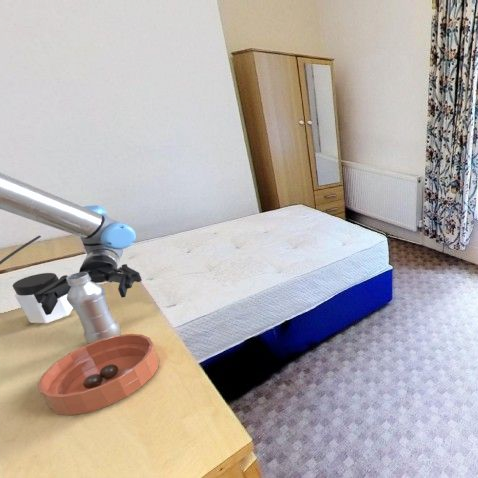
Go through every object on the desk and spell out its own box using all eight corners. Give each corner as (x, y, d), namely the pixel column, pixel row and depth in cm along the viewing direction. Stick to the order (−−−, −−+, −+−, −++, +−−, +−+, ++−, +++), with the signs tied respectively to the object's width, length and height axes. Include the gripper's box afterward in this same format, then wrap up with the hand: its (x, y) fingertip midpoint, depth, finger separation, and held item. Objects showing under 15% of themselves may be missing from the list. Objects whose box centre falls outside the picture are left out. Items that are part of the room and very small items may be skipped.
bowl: (47, 384, 72) (34, 364, 69) (148, 342, 85) (141, 324, 82) (56, 435, 61) (42, 413, 59) (170, 378, 74) (162, 358, 72)
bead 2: (112, 359, 73) (117, 366, 75) (95, 368, 72) (101, 374, 73) (117, 367, 72) (122, 374, 74) (99, 377, 70) (106, 383, 72)
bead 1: (90, 370, 71) (107, 372, 72) (83, 383, 71) (101, 385, 72) (84, 377, 68) (102, 379, 70) (77, 390, 68) (96, 392, 70)
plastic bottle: (83, 346, 82) (49, 280, 74) (112, 330, 88) (84, 267, 80) (100, 352, 81) (68, 285, 73) (130, 335, 87) (103, 271, 79)
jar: (66, 319, 92) (48, 284, 87) (25, 328, 88) (4, 291, 83) (78, 303, 99) (62, 269, 94) (40, 310, 95) (21, 275, 90)
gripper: (156, 266, 104) (153, 298, 88) (44, 289, 90) (17, 331, 74) (149, 246, 101) (145, 274, 85) (32, 266, 87) (1, 304, 71)
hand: (85, 301), depth 80 cm, fingers open, 13 cm apart
